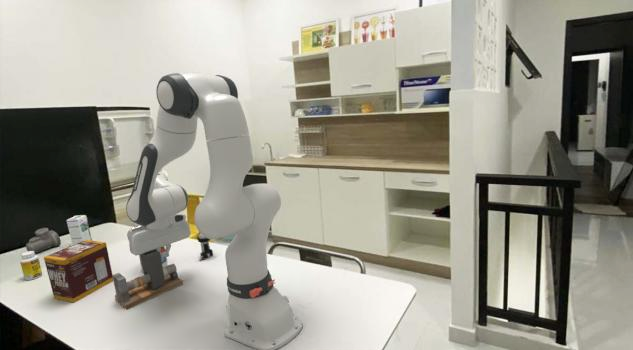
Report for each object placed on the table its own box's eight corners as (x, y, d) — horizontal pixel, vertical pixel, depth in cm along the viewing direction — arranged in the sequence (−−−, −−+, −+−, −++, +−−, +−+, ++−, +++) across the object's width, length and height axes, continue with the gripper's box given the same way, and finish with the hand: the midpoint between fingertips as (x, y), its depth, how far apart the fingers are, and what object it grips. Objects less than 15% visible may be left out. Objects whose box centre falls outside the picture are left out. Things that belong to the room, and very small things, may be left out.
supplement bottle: (35, 280, 135) (29, 255, 133) (21, 281, 135) (14, 256, 133) (46, 273, 140) (40, 249, 138) (32, 274, 140) (25, 250, 138)
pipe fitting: (54, 242, 172) (48, 224, 169) (63, 246, 168) (57, 227, 165) (26, 255, 162) (19, 235, 159) (35, 259, 159) (28, 239, 155)
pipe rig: (183, 284, 124) (179, 259, 122) (126, 309, 111) (121, 282, 109) (170, 276, 131) (166, 252, 129) (115, 299, 117) (110, 273, 115)
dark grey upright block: (165, 284, 121) (160, 252, 118) (153, 289, 118) (148, 256, 115) (156, 278, 126) (151, 247, 123) (145, 283, 123) (139, 251, 120)
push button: (203, 262, 141) (200, 239, 138) (194, 259, 143) (191, 237, 141) (216, 255, 146) (213, 233, 144) (207, 253, 149) (204, 231, 147)
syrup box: (85, 248, 164) (78, 218, 161) (72, 248, 164) (66, 219, 161) (92, 243, 169) (86, 214, 166) (80, 243, 169) (74, 215, 166)
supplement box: (53, 298, 120) (42, 256, 117) (95, 277, 134) (86, 239, 131) (73, 303, 117) (63, 260, 113) (114, 280, 130) (106, 241, 127)
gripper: (129, 231, 111) (137, 271, 114) (189, 213, 125) (195, 249, 128) (122, 227, 115) (130, 266, 118) (181, 210, 130) (186, 245, 133)
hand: (164, 257), depth 123 cm, fingers closed
